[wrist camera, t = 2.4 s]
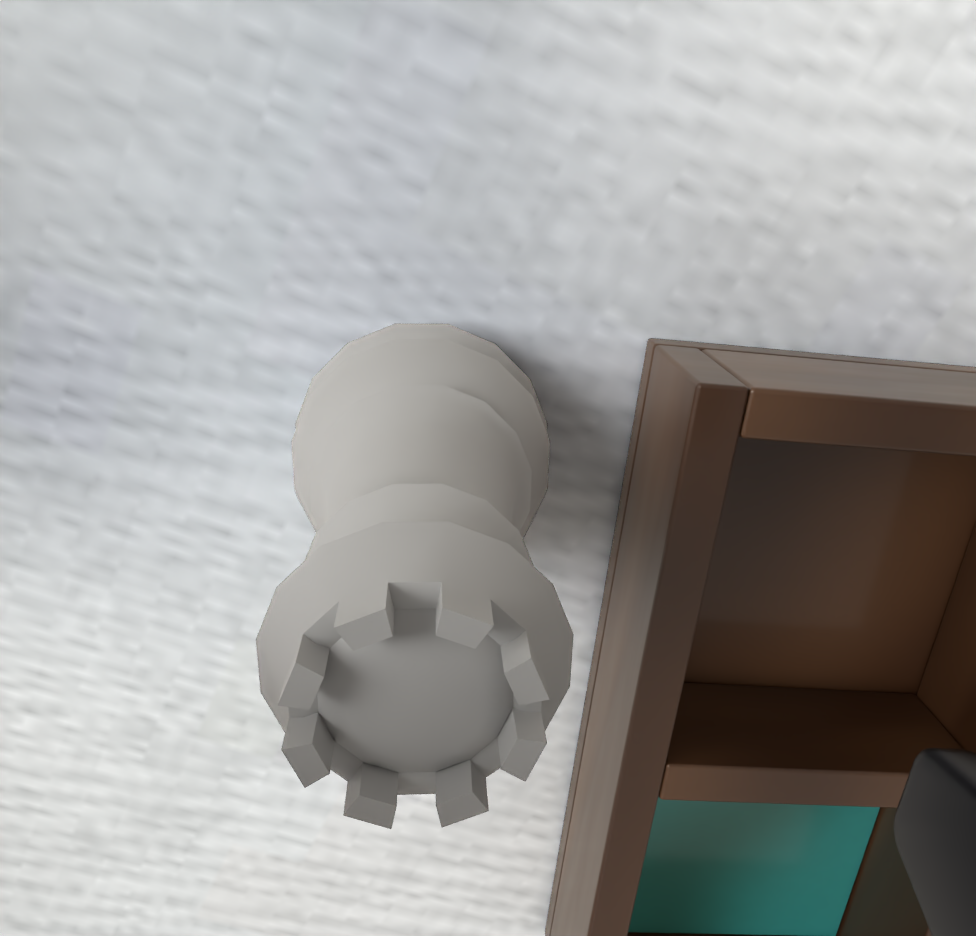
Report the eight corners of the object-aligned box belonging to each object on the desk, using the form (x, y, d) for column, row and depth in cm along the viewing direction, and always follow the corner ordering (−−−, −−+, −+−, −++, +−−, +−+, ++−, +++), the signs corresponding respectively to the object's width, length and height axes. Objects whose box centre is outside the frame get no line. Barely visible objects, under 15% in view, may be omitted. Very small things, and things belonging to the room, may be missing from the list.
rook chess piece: (455, 587, 16) (475, 961, 9) (252, 470, 15) (81, 786, 8) (593, 406, 15) (752, 662, 8) (384, 263, 14) (332, 401, 7)
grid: (1372, 402, 16) (1569, 457, 13) (1101, 942, 21) (1202, 1063, 18) (647, 337, 15) (697, 382, 12) (544, 931, 20) (563, 1060, 17)
